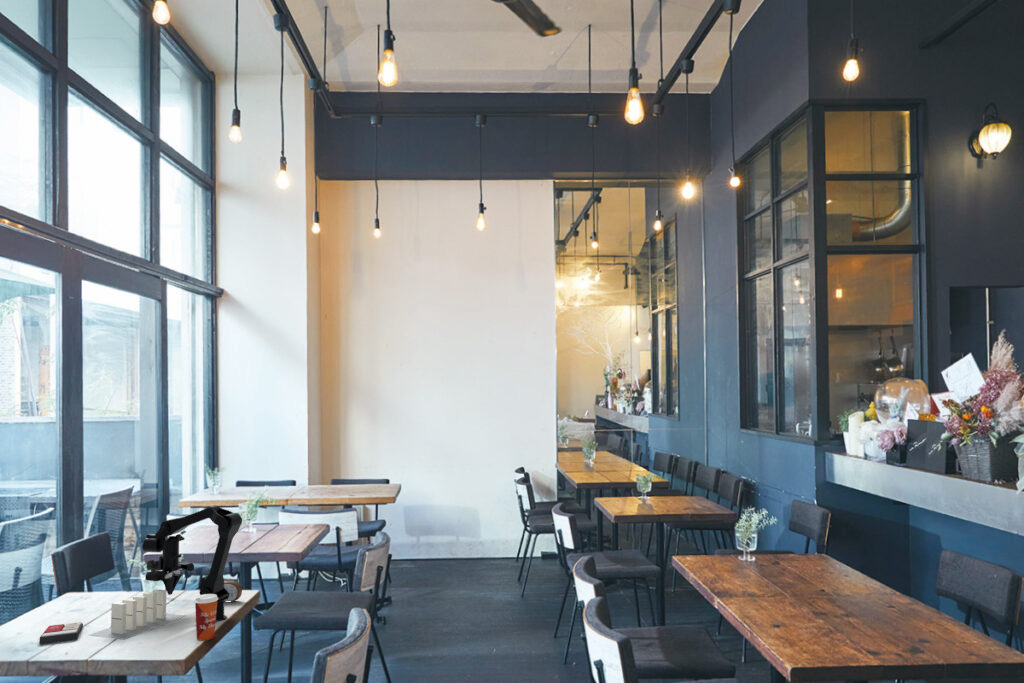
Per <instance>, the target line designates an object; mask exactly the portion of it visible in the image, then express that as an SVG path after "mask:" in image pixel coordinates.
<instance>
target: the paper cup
mask: <svg viewBox="0 0 1024 683" xmlns="http://www.w3.org/2000/svg"><path fill="white" fill-rule="evenodd" d="M217 600H218V598H217V595H216V594H204V595H200V594H199V595H198V596H196V597H195V599H194V601H193V602H194V604H195V605H194V606H195V607H194V608H195V627H196V628H195V629H196V630H195V631H196V640H198V641H201V642H202V641H210V640H213V639H215V635H216V634H215V633H216V623H217V621H216V612H217Z"/></svg>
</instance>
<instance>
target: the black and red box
mask: <svg viewBox="0 0 1024 683" xmlns="http://www.w3.org/2000/svg"><path fill="white" fill-rule="evenodd" d="M83 629H84V623H83V622H82V621H80V622H79V621H77V622H71V623H70V622H69V623H66V624H64V623H61V624H60V623H59V624H53V625H48V626H47V627H46V629H45V630H44V631H43V633H41V635H40V637H39V643H38V644H39V645H41V646H42V645H48V644H49V645H50V644H56V643H65V642H72V641H78V639H79V637H80V635H81V633H82V630H83Z"/></svg>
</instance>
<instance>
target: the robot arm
mask: <svg viewBox="0 0 1024 683" xmlns="http://www.w3.org/2000/svg"><path fill="white" fill-rule="evenodd" d="M208 519H210V520H211V521H212V523H214V525H216V526H217V532H218V533H217V534H218V536H219V537H218V540H217V544H216V547H215V551H214V555H213V559H212V561H211V562H212V563H211V567H210V569H209V572H208V575H206V576H203V577H201V579H200V585H199V587H198V589H199V596H200V595H204V594H216V595H217V598H218V600H217V612H216V620H218V621H221V620H220V619H223V620H226V619H225V618H227V619H228V616H226V615H225V602H224V600H226V599H228V598H229V595H230V594H229V592H228V591H227V590H226V589H225V588H224V580H225V578H224V571H225V567H226V565H227V564H226V563H227V561H228V558H229V557H228V556H229V554H230V550H231V546H232V542H233V539H234V537H235V536H236V534H237V533H238V531H239V530H240V528H241V526H242V523H243V517H242V516H241V515H240V514H239V513H238V512H233V511H231V510H229V509H225V508H222V507H220V506H219V505H215V504H214V505H211V506H208V507H206V508H204V509H201V510H198V511H196V512H194V513H191V514H188V515H185V516H181V517H175V518H171V519H167V520H164V521H162V522H161V523H160V527H159V528H158V530H157V532H156V533H155V534H154V533H148V534H146V536H145V538H144V540H143V542H142V547H141V548H142V550H143V552H144V553H162V555H160V556H159V558H158V560H154V559H152V560H148V561H147V562H146V569H147V570H148V572H146V573H145V576H144V577H145V579H144V581H149V582H159V581H162V583H163V585H164V587H165V590H166V594H167V595H168V596H170V595H173V593H174V591H175V589H176V587H177V585H178V583H179V581H180V579H182V578H181V577H182V576H184V574H183V573H181V571H184V570H185V571H187V572H192V571H195V564H194V563H193V562H189V561H187V562H184V561H181V562H180V558H182V554H180V542H181V541H182V542H183V541H184V540H185V537H184V536H183V535H182V534H180V532H182V531H184V530H185V529H187V528H188V527H190V526H191V525H194V524H197V523H199V522H201V521H202V522H203V521H205V520H208ZM179 562H180V563H179Z"/></svg>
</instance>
